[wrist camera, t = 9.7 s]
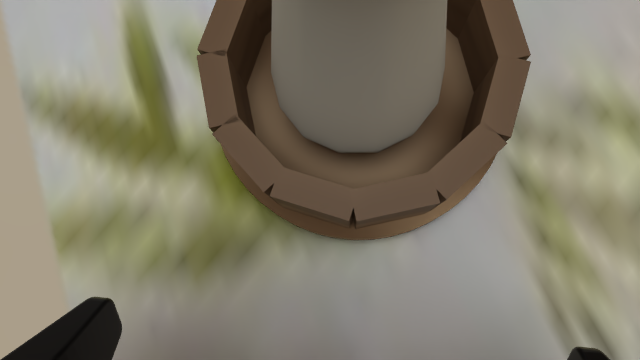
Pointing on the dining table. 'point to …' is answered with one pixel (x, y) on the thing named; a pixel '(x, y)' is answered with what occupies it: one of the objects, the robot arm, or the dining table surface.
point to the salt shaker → (358, 68)
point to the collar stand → (364, 168)
